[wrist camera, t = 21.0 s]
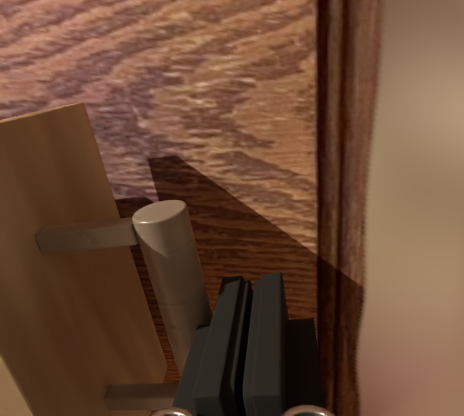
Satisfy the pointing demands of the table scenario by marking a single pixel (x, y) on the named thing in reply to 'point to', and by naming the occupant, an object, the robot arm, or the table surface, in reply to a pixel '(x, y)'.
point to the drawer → (86, 278)
